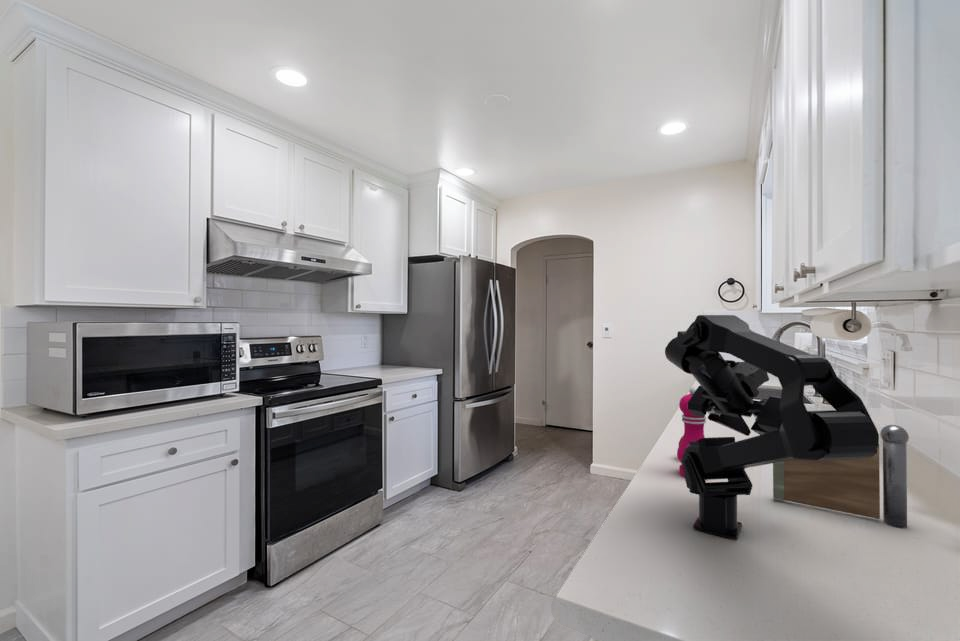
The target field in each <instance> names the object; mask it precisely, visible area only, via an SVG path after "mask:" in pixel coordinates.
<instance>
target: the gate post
mask: <svg viewBox="0 0 960 641" xmlns="http://www.w3.org/2000/svg"><path fill="white" fill-rule="evenodd" d="M879 434H880V438H881V440H882V507H883V508H882V510H883V511H882V512H883V514H882V515H883V516H882V517H883V519H882V520H883V521H882V522H883V523H884V524H886V525H887V526H889V527H894V528H899V529H906V528H908V482H907V481H908V477H907V476H908V475H907V474H908V473H907V472H908V471H907V470H908V469H907V468H908V466H907V465H908V464H907V463H908V462H907V461H908V460H907V455H908V454H907V443H908V442H909V439H910V437H909V436H910V435H909V433H908V431H907V430H906V429H905V428H904V427H902V426H899V425H896V424H888V425H885V426H884V427H882V428H881V430H880V433H879Z"/></svg>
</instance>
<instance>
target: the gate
mask: <svg viewBox="0 0 960 641" xmlns="http://www.w3.org/2000/svg"><path fill="white" fill-rule="evenodd" d="M880 476H881V475H880V444H879V445H878V448H877V454H875V455H874V456H873V457H870V458H864V459H837V460H801V459H794V460H788V461H782V462H777V463H772V496H773V500H778V501H782V502H791V503H796V504H800V505H805V506H810V507H816V508H820V509H821V508H822V509H825V510H830V511H831V510H832V511H837V512H840V513H841V512H842V513H847V514H849V515H850V514H851V515H856V516H861V517H866V518H872V519H876V520H881V506H880V505H881V504H880V503H881V502H880V501H881V497H880V495H881V494H880V491H881V490H880V488H881V487H880V486H881V485H880V484H881V483H880V482H881V479H880Z"/></svg>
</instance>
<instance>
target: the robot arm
mask: <svg viewBox="0 0 960 641" xmlns="http://www.w3.org/2000/svg"><path fill="white" fill-rule="evenodd" d="M749 325H750V324H749V323H748V322H746V321H744V320H743V319H741V318H740V317H739V316H736V315H733V314H699V315H697V316H696V317H695V320H694V321H692V322H691V324H690V325H689V327H688V328H687V329H686V330H685V331H684V330H683V331H681V330H679V331H677V334H676V337H674V338H672V339H671V340H670V341H669V342H668V343H667V345H666V347H665V349H664V354H665V357H666V359H667V360H668V361H669V362H670V363H672V364H673V365H674V366H676V367H677V368H678V369H679V370H682V371H683V372H684V373H686V374H689V375H692V376H693V378H694V380H696V382H697V383H698V384H699V385H698V387H697V388H696V389H697V390H696V391H695V393H694V394H693V395H692V397H691V398H690V400H689V401H688V410H689V411H690V412H691V413H692V415H695V416H699V417H704V416H705V417H706V415H707V414H708V416H707V419H708V420H709V421H710V422H714V423H717V424H718V425H721V426H723V427H726V428H728V429H731V430H733V431H735V432H737V433H739V434H742V435H744V436H747V437H748V438H745V439H741V440H737V441H736V439H735V436H721V437H720V436H719V437H705V438H701V439H698V440H697V441H689V444H690V446H687V447H686V448H685V450H684V451H685V453H684V454H683V456H682V463H681V464H682V465H683V470H684V475H685V477H684V480H685V484H686V488H687V489H688V490H689V493H690V494H694V495H698V517H697V519H696V520H695V521H694V523H693V526H692V527H693V528H692V529H694V530H697V531H700V532H704V533H708V534H711V535H716V536H720V537H724V538H728V539H732V540H738V539H739V536H740V533H741V530H742V529H743V528H742V527H743V523H742V522H740V521H738V496H744V495H745V496H750V495H751V493H752V490H753V483H752V482H751V479H750V477H749V476H748V474H747V471H746V469H747V468H753V467H759V466H760V467H761V466H765V465H771V464H773V463H777V462H782V461H788V460H794V459H801V460H837V459H864V458H870V457H873V456H874V455H875V454H877V448H878V445H879V446H880V443H879V439H880V438H879V434H880V433H879V432H878V429H877V426H876V425H875V423H874V421H873V420H872V417H871V415H870V413H869V411H868V409H867V407H866V405H865V404H864V401H863V400H862V399H861V397H860V396H859V395H858V394H857V393H856V392H855V391H854V390H852V389H851V388H850V387H849V386H848V385H847V384H846V383H845V382H844V381H843V380H841V379H840V378H839V377H838V376H837V374H836V372H835V369H834V368H833V366H832V364H831V362H830V361H829V360H828V359H827V358H826V357H824V356H821V355H819V354H812V353H809V352H806V351H803V350H802V349H799V348H796V347H793V346H791V345H788V344H786V343H783V342H780V341H778V340H775V339H773V338H770V337H767V336H765V335H763V334H760V333H758V332H755V331H753V330H752V329H750V326H749ZM721 353H725V354H727V355H732V356H733V357H736V358H737V359H739V360H740V361H735V360H729V359H725V358H724V357H723V355H722V354H721ZM741 360H742V361H741ZM769 374H770V375H772V376H773V377H776V378H777V379H778V381H779V383H780V386H781V396H777V395H771V396H770V395H769V396H768V398H762V399H760V400H754V399H753V398H757V397H758V395H759V394H760V391H759V389H758V388H759V387H761V386H762V385H763V384H765V383H767V382H768V381H770V377H769ZM805 386H811V387H812V388H813V389H814V390H815V391H816V393H818V394H819V395H820V396H821V397H822V398H823V399H824V400H825V401H826V402H827V403H828V404H829V405H831V407H832V408H833V410H807V407H806V405H805V403H804V393H805ZM752 416H753V417H754V418H755V419H754V420H755V421H754V422H753V425H751V427H749V426H748V424H747V422H746V421H745V419H744V418H743V417H745V418H751V417H752ZM752 431H753V432H754V433H756V434H758V435H756V436H751V437H749V436H750V435H751V432H752ZM706 480H708V482H706ZM709 480H727V481H717V482H716V481H714V482H713V481H712V482H711V481H710V482H709Z"/></svg>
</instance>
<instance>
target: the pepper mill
mask: <svg viewBox="0 0 960 641" xmlns="http://www.w3.org/2000/svg"><path fill="white" fill-rule="evenodd" d="M696 390H697V388H696V387H693V386H692V387H690V388H689V390H688V393H689V394H685V395H683V396H682V397H681V398H680V400H679V405H678V406H679V409H680V411H681V412H682V415H681V417H682V418H681V421H682V422H683V425H684V426H683V428H684V431H683V435H684V436H683V435H682V436H683V438H682V441H681V443H680V445H679V444H678V448H677V450H676V451H677V452H676V456H677V460H678V461H679V462H680V465H679V467H678V468H679V475H680V476H682V477H683V478H685V475H684V470H683V465H682V456H683V454H684V453H685V451H684V450H685V448H686V447H687V446H690V444H689V441H697V440H698V439H701V438H706V437H705V430H704V428H705V424H706V423H707V420H706V419H707V417H706V415H705V416H704V417H699V416H695V415H692V413H691V412H690V411H689V410H688V401H689V400H690V398H691V397H692V395H693V394H694V393H695V391H696Z"/></svg>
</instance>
